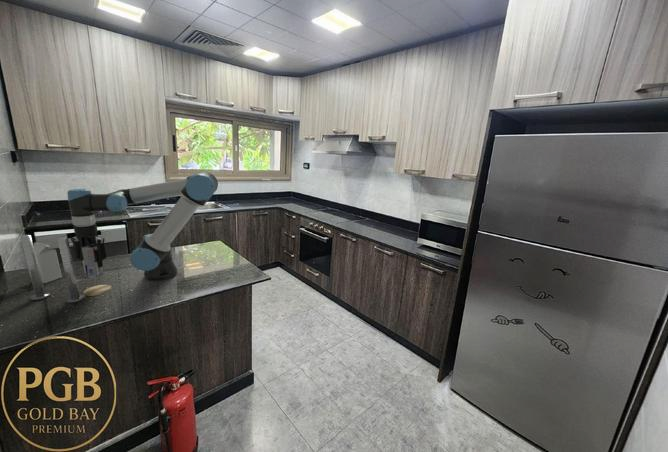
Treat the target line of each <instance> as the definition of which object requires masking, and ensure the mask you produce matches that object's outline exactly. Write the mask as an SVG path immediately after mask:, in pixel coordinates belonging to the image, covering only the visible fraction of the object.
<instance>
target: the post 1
mask: <svg viewBox="0 0 668 452" xmlns="http://www.w3.org/2000/svg"><path fill="white" fill-rule="evenodd" d="M19 238H20V241H21V245H22V249H23V253H24V257H25V261H26V265H27V268H28V272H29V276H30V279H31V280H30V281H31V284H32V288H33V292H34V294H33V295H31V296H30V300H31V301H32V302H37V301H38V302H39V301H42V300H45V299H48V298H50V297H51V295H52V293H51V292H49V291H45V287H44V283H43V282H42V278H41V274H40V270H39V266H38V262H37V258H36V254H35V249H34V243H33V238H32V235H31V234H23V235H20V236H19Z"/></svg>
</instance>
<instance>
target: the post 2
mask: <svg viewBox="0 0 668 452" xmlns="http://www.w3.org/2000/svg"><path fill="white" fill-rule="evenodd" d="M57 243H58V247H59V252H60V256H61V260H62V261H61V262H62V266H63V270H64V275H65V278H66V283H67V287H68V291H69V297H67V298H66V300H65V302H66V304H69V305H70V304H76V303H79V302H82V301H84V300H85V299H86V296H85V295H84V294H81V293H80V289H79V285H78V280H77V276H76V270H75V266H74V262H73V256H72V251H71V247H70V242H69V238H68V237H65V236H64V237H63V236H62V237H57Z"/></svg>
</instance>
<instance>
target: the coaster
mask: <svg viewBox="0 0 668 452" xmlns="http://www.w3.org/2000/svg"><path fill="white" fill-rule="evenodd" d="M111 290H112V285H110V284H99V285H94V286H91V287H88V288H87V289H85V290H83V292H82V293H83V295H85V297H95V296H100V295H103V294H106V293H108V292H110V291H111Z"/></svg>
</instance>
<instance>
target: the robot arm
mask: <svg viewBox="0 0 668 452" xmlns="http://www.w3.org/2000/svg"><path fill="white" fill-rule="evenodd" d="M218 187H219V183H218V179H217V178H216V176H215V175H214V174H212V173H210V172H208V171H201V172H199V173H195V174H193V175H187V176H186V177H185V178H183V179H177V180H171V181H165V182H161V183H160V182H159V183H154V184H149V185H143V186H137V187H131V188H127V189H125V188H124V189H123V188H122V189H118V190H116V191H112V192H110V193H103V194H102V193H100V194H96V193H92V190H90V189H89V188H72V189H69V190H68V191H67V194H66V195H67V202H68V205H69V210H70V214H71V221H72V226H73V231H74V234H75V235H76V236H73V237H70V240H71V241H70V242H71V243H72V247H73V251H74V256H75V259H79V260H80V262H81V266H82V267H83V272H84V274H85V275H87V274H86V269H85V264H84V258H83V253H82V247H85V246H88V247H89V248H93V247H96V246H97V250H94V248H93V251H94V256H95V261H94V262H95V264H96V270H97V275H99V271H98V268H100V267H101V271H102V273H103V274H104V270H103V266H104V263H103V260H105V259H107V253H106V248H105V238H104V237H102V238H101V237H99V236H98V235H97V232H98V226H97V223H96V222H97V221H96V215H95V212H114V213H116V212H123V211H126V209H127V207H128V206H129V205H130V206H131V205H135V204H136V205H137V204H140V203H145V202H151V201H157V200H162V199H168V198H173V197H178V196H180V198H179V199H178V200H177V202H175V204H174V205H173V206H172V208H171V210H170V211H169V212H168V213H167V215H166V216H165V217H164V219H162V221H161V222H160V223H159V225H158V226H157V228H155V230H154V232H153V233H148V234H145V235H143V237H142V241H141V242H140V244H139V245H138V246H137V247H136V248H135V249H134V250H133V251H132V252H131V254H130V256H129V261H130V263H131V265H132V266H133V267H134V268H135V269H137V270H139V271H143V273H144V274H143V277H144V280H146V281H150V282H160V281H164V280H169V279H171V278H174V277H175V276H177V275H178V268H177V266H176V264H175V262H174V259H173V253H172V252H173V251H172V242H173V241H174V240H175V238H176V237H177V236H178V235H179V233H180V232H181V231H182V229H183V228H184V226H185V225H186V224H187V223H188V221H189V220H190V219H191V218H192V216H194V214H195V212H196V211H197V209H198V208H200V207H205V205H206V203H208V201H209V200H210V199H211V197H213V195H214V194H215V192H216V191H217V190H218ZM97 264H98V266H97Z"/></svg>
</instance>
